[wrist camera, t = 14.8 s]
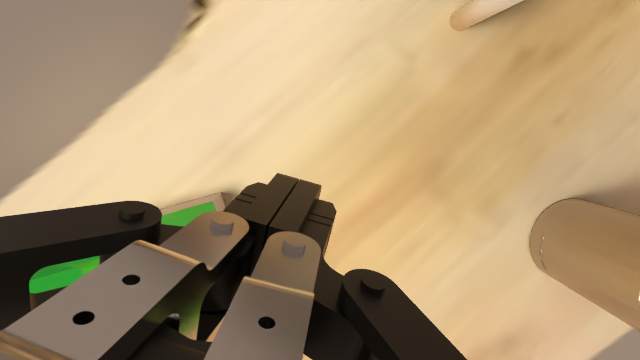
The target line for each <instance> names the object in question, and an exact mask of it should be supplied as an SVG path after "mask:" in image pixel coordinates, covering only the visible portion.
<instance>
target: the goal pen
mask: <svg viewBox="0 0 640 360" xmlns="http://www.w3.org/2000/svg"><path fill="white" fill-rule="evenodd" d="M522 1H524V0H472V1H471V2H469V3H467V4H466V5H464V6H463V7H461V8H459V9H458V10H456V11H455V12H453V13H452V15H451V17H450V25H451V27H452V28H453V29H454V30H456V31H462V30H464V29H466V28H468V27H470V26H472V25H474V24H476V23H478V22H480V21H482V20H485V19H487V18H489V17H491V16H493V15H495V14H497V13H499V12H501V11H503V10H505V9H507V8H509V7H511V6H513V5H515V4H517V3H519V2H522Z"/></svg>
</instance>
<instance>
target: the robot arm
mask: <svg viewBox="0 0 640 360" xmlns="http://www.w3.org/2000/svg"><path fill="white" fill-rule="evenodd" d="M320 192H321V185H319V184H315V183H312V182H308V181H305V180H301V179H300V180H299V179H297V178H294V177H290V176H287V175H283V174H279V173H277V174H276V175H275V177H274V178H273V179H272V180H271V181H270V182H269V184H268V185H266V184H263V183H259V182H258V183H255V184H252V185H249V186H247V187H246V188H245V189H244V190H243V191H242V192H241V193H240V194H239V195H238V196H237V197H236V198H235V199H234V200H233V201H232V202H231V203H230V204H229V205H228V206H227V207H226V208H225V209H224V210H223V211H213V212H207V213H203V214H201V215H199V216H198V217H196V218H195V219H194V220H192V221H191V222H190V223H188V224H187V225H186V226H175V225H165V224H161V222H162V212H161V211H160V210H159V209H158V208H157V207H156V206H154V205H152V204H149V203H145V202H139V201H122V202H114V203H106V204H99V205H91V206H83V207H75V208H67V209H59V210H52V211H44V212H36V213H28V214H20V215H12V216H5V217H0V360H302V357H303V354H305V355H306V356H308V357H309V358H311V359H312V360H467V359H466V358H465V357H464V356H463V355H462V354H461V353H460V352H459V351H458V350H457V349H456V347H455V346H454V345H453V344H452V343H451V342H450V341H449V340H448V339H447V338H446V337H445V336H444V335H443V334H442V333H441V332H440V331H439V329H438V328H437V327H436V326H435V325H434V324H433V323H432V322H431V321H430V320H429V319H428V318H427V317H426V316H425V315H424V314H423V313H422V311H421V310H420V309H419V308H418V307H417V306H416V305H415V304H414V303H413V302H412V301H411V300H410V299H409V298H408V297H407V296H406V295H405V293H404V292H403V291H402V290H401V289H400V288H399V287H398V286H397V285H396V284H395V283H394V282H393V281H392V280H391V279H389V278H388V277H386V276H384V275H382V274H380V273H378V272H375V271H372V270H367V269H355V270H351V271H349V272H347V273H346V274H345V275H344V276H343V275H341V274H339V273H338V272H336V271H335V270H333V269H332V268H331V267H330V266H329V265H328V264H327V263H326V262H325V260H324V255H325V252H326V249H327V245H328V241H329V238H330V234H331V230H332V226H333V223H334V219H335V215H336V210H335V208H334V205H333V203H330V202H326V201H323V200H319V196H320ZM530 252H531V256H532V258H533V260H534V262H535V264H536V265H537V266H538V268H539V269H541V270H542V271H543V272H544V273H546V274H547V275H549V276H551V277H552V278H554V279H555V280H557V281H559V282H560V283H562V284H564V285H565V286H567V287H568V288H570V289H571V290H573V291H575V292H576V293H578V294H580V295H581V296H583V297H584V298H586V299H588V300H589V301H591V302H593V303H594V304H596V305H598V306H599V307H601V308H602V309H604V310H606V311H607V312H609V313H611V314H612V315H614V316H615V317H617V318H619V319H620V320H622V321H624V322H625V323H627V324H628V325H630V326H632V327H633V328H635V329H637V330H638V331H640V216H639V215H636V214H632V213H629V212H625V211H622V210H618V209H615V208H611V207H608V206H602V205H599V204H595V203H592V202H588V201H585V200H581V199H567V200H562V201H560V202H557V203H555V204H553V205H552V206H550V207H549V208H547V209H546V210H545V211H544V212H543V213H542V214H541V215H540V216H539V218H538V219H537V220H536V222H535V224H534V226H533V228H532V231H531V235H530ZM95 256H99V266H97V267H96V268H94V269H93V270H91V271H90V272H88V273H87V274H85V275H84V276H82V277H81V278H79V279H78V280H76V281H75V282H73V283H72V284H70V285H69V286H65V287H61V288H57V289H52V290H48V291H44V292H40V293H30V290H29V282H30V279H31V277H32V276H33V275H34V274H35V273H36V272H37V271H39V270H40V269H42V268H44V267H47V266H52V265H56V264H61V263H66V262H71V261H76V260H81V259H86V258H90V257H95Z"/></svg>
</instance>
